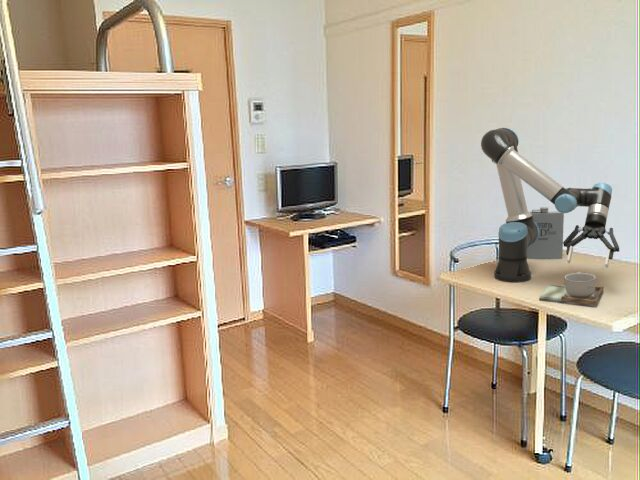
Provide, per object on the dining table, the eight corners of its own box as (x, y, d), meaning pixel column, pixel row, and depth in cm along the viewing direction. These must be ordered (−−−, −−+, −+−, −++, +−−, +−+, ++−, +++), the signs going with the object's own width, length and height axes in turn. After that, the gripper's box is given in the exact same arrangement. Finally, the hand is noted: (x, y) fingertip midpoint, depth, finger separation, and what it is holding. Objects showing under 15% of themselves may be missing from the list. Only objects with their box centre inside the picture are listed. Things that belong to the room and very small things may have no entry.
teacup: (592, 302, 211) (593, 281, 209) (561, 298, 217) (562, 278, 215) (597, 291, 222) (598, 271, 220) (567, 287, 228) (568, 268, 226)
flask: (524, 259, 275) (525, 208, 269) (523, 256, 279) (524, 206, 274) (563, 259, 270) (564, 207, 265) (561, 256, 275) (563, 205, 269)
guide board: (539, 300, 220) (539, 294, 219) (549, 287, 234) (549, 281, 233) (596, 307, 209) (596, 301, 208) (603, 292, 223) (603, 286, 222)
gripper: (631, 225, 226) (623, 272, 218) (564, 220, 240) (554, 264, 232) (630, 215, 220) (622, 262, 212) (562, 210, 234) (552, 255, 226)
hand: (587, 263), depth 222 cm, fingers open, 13 cm apart
